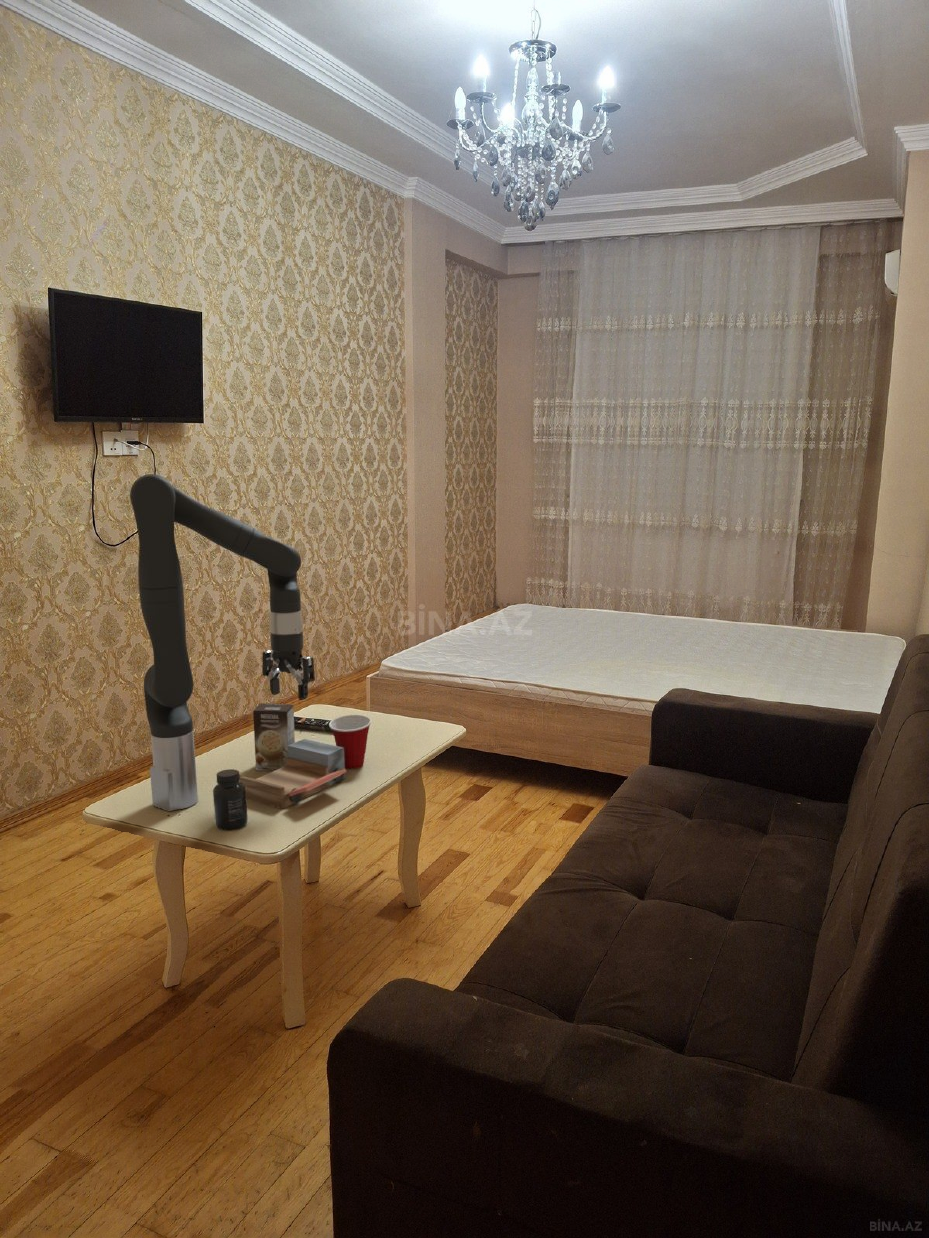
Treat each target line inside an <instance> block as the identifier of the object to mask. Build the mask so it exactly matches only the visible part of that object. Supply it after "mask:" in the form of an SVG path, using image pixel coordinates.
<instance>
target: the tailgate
mask: <svg viewBox="0 0 929 1238" xmlns="http://www.w3.org/2000/svg"><path fill="white" fill-rule="evenodd" d="M343 773H345V774H346V773H347V768H345V769H343V770H340V771H337V772H334V773H331V774H328V775H326V776H323V777H321V778H319V779H317V780H315V781H313V782H311V783H309V784H306V785H304V786H302V787H300V788H298V789H296V790H294V791H292V792H289V796H292V795H295V794H298V793H302V792H305V791H309V790H311V789H313V788H315V787H317V786H319V785H321V784H323V783H326V782H328V781H330V780H332V779H334V778H336V777H338V776H340V775H341V774H343Z"/></svg>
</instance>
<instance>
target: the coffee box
mask: <svg viewBox="0 0 929 1238" xmlns="http://www.w3.org/2000/svg"><path fill="white" fill-rule="evenodd" d="M252 716H253V732H254V733H253V734H254V739H253V740H254V755H255V756H254V759H255V771H266V772H267V771H268V772H269V771H270V772H273V771H275V770H278V769H280V768H282V767H285V766H286V758H287V757H288V745H291V744H293V743H295V742H296V740H295V739H296V737H295V712H294V704H289V703H288V704H285V703H284V704H283V703H266V702H263V703H262V702H261V703H259V704H258V705H257V706H255V708H254V709H253V711H252Z"/></svg>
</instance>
